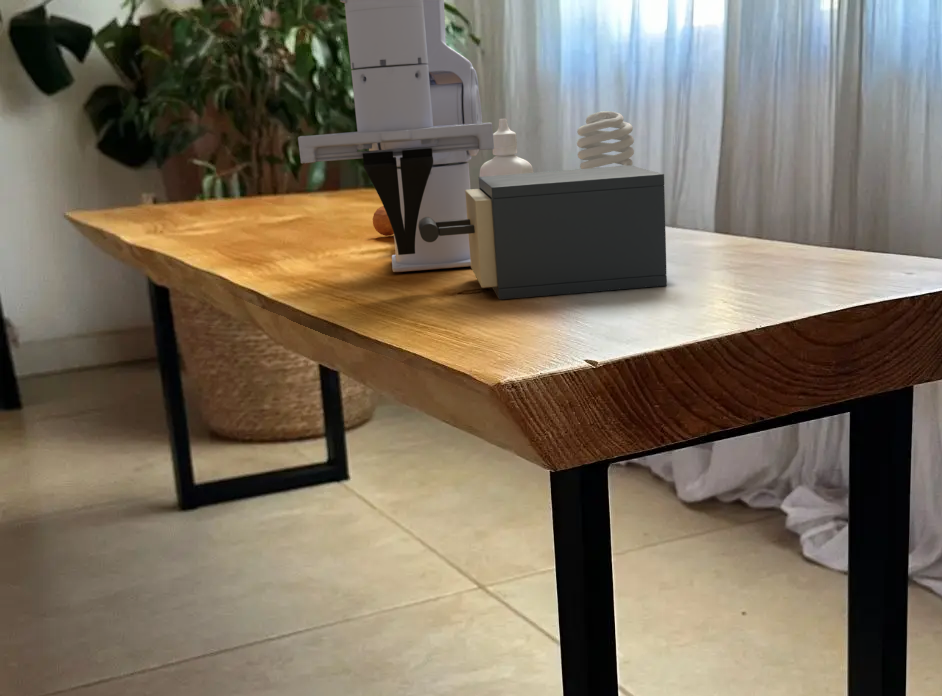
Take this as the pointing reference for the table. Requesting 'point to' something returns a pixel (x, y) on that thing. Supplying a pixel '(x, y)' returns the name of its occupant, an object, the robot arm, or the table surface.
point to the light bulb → (596, 136)
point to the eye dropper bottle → (505, 154)
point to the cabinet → (577, 230)
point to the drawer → (470, 235)
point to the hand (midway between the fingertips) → (406, 253)
